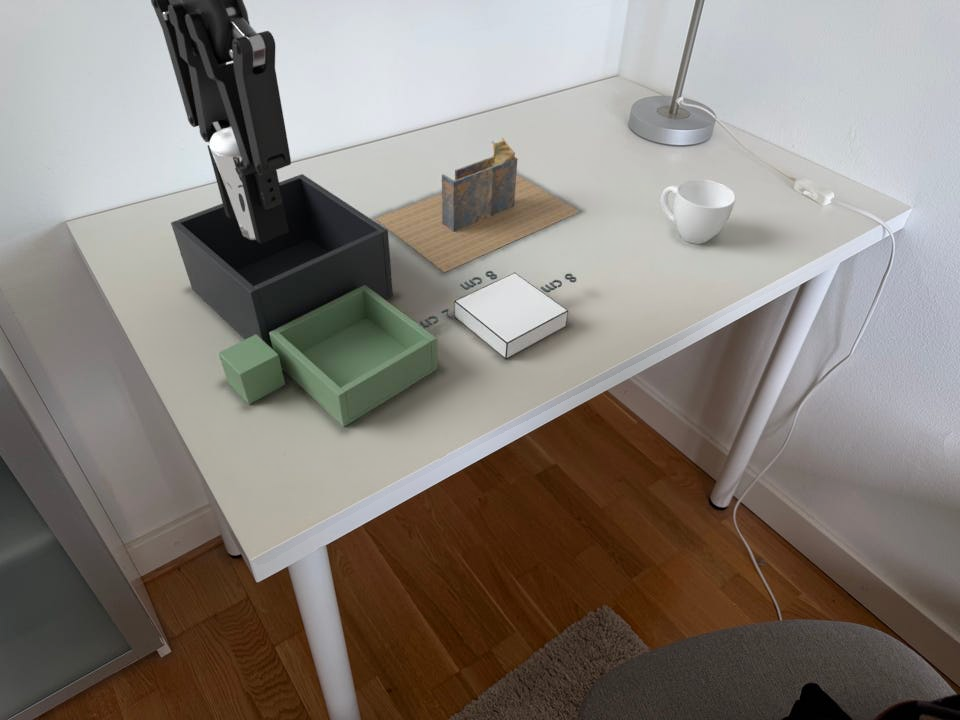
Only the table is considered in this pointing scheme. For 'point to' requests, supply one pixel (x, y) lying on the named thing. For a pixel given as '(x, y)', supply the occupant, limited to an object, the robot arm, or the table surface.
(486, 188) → the architectural model on board
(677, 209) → the cup
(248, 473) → the table surface
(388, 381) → the green bin
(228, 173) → the milkshake
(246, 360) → the green block
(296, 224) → the dark bin
